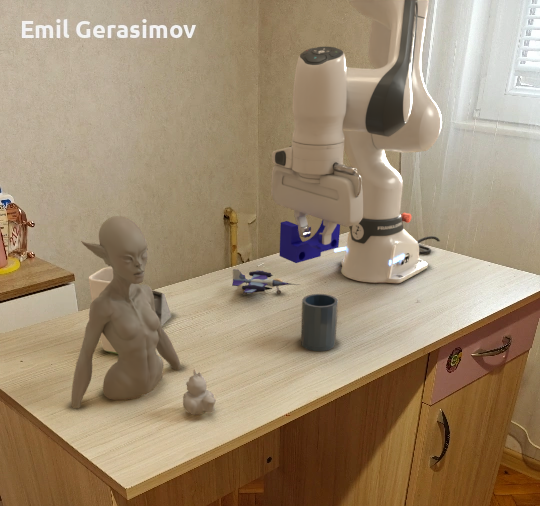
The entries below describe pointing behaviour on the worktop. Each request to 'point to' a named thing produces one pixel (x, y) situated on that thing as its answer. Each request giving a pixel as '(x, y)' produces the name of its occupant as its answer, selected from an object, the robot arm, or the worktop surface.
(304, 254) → the blue half clamp bracket
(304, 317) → the tumbler
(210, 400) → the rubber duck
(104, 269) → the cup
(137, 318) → the elf figurine
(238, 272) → the toy airplane
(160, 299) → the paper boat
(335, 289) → the worktop surface
